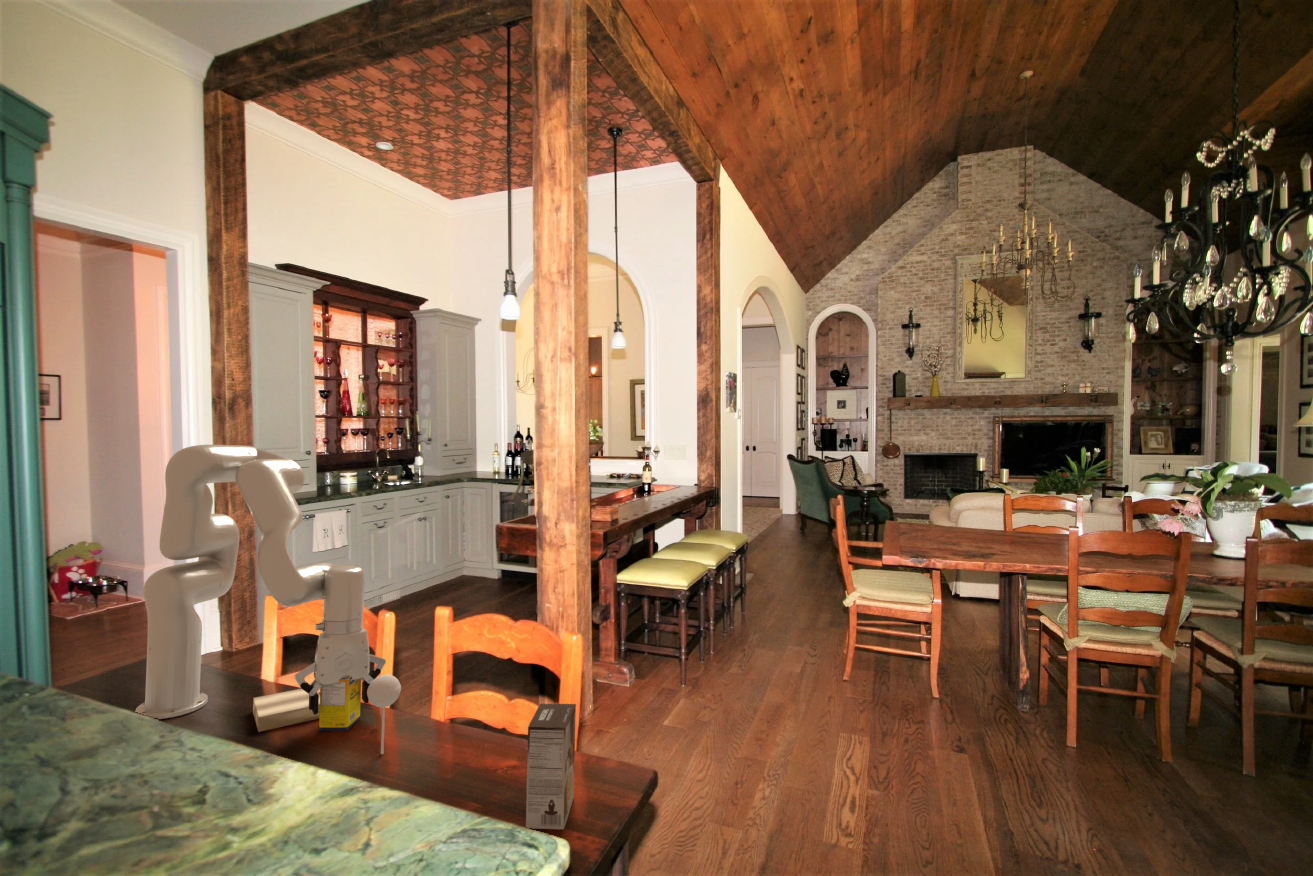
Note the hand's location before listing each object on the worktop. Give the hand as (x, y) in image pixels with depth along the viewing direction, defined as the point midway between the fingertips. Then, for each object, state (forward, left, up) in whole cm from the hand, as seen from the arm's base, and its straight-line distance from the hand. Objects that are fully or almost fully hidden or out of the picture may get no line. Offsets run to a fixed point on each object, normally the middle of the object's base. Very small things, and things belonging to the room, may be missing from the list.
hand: (340, 706), depth 129 cm
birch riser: (-12, -8, -4) cm, 15 cm away
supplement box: (0, 0, -4) cm, 4 cm away
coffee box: (+54, +21, -4) cm, 58 cm away
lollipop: (+18, +4, -4) cm, 19 cm away
